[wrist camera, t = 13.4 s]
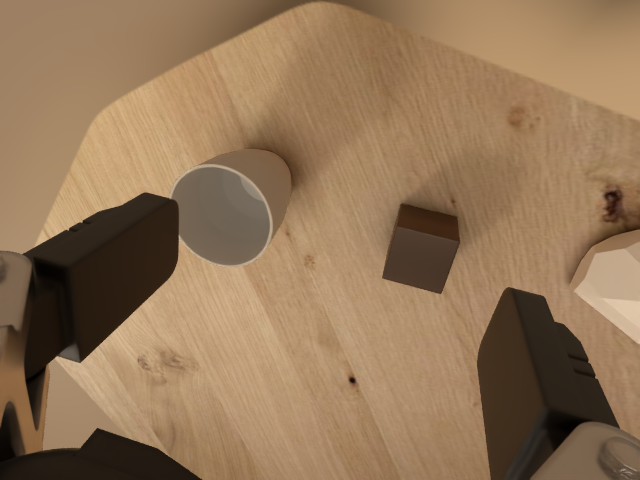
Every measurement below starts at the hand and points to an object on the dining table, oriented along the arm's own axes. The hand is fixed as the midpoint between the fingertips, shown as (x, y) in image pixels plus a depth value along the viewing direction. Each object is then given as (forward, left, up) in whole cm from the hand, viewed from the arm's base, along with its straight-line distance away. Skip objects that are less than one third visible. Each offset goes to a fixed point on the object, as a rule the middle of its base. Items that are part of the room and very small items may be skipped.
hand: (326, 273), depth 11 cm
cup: (+9, -10, -28) cm, 32 cm away
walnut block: (+11, +4, -28) cm, 31 cm away
